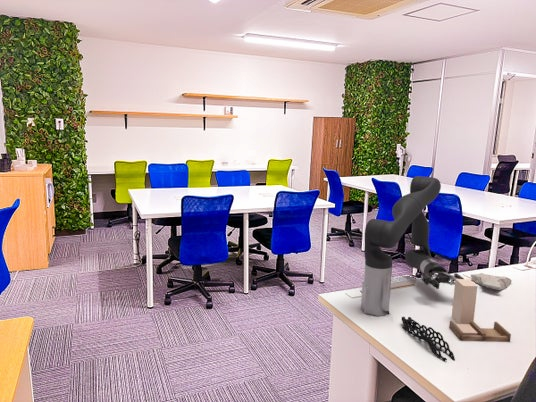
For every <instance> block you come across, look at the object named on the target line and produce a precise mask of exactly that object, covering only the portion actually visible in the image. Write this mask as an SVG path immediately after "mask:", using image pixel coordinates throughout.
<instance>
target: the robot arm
mask: <svg viewBox="0 0 536 402" xmlns="http://www.w3.org/2000/svg"><path fill="white" fill-rule="evenodd" d="M441 185H442V184H441V181H440V180H439V179H438V178H436V177H431V176H422V175H416V176H413V178H412V180H411V182H410V185H409V193H407V194H405V195H403V196H401V197H400V198H399V199H398V200H397V201H396V202H395V203H394V205H393V206H392V211H391V213H392V217H393V219H394V220H392V221H389V220H383V219H378V218H371V219H369V220H368V221H367V223H366V225H365V227H364V228H365V230H364V276H363V277H364V279H363V281H362V282H361V283H362V284H361V285H362V286H361V300H360V301H361V305H360V307H361V309H362V310H363V313H364V314H365V315H367V314H368V315H370V316H377V317H378V316H379V317H382V316H386V315H388V314H389V312H390V311H389V310H390V301H391V289H392V288H391V286H392V285H391V284H392V276H393V275H392V273H393V272H392V271H393V258H392V257H391V256H390V255H389V254H388V253H386V252H385V251H383V249H381V248H385V249H392V248H394V247H396V245H397V244H398V243H399V241H400V240H401V238H402V237H403V235H404V233H405V231H407V229H408V228H409V227H410V225H411V237H410V241H411V244H412V245H413V246H417V247H421V249H409V250H407V251H406V253H405V262H406V263H407V265H408V266H410V267H411V268H414V269H416V270H419V271H420V272H421V275H420V280H421V281H422V282H423V283H424V284H425V285H426V286H427V285H430V286H432V287H433V288H435V289H436V290H439V289H440V284H447V285H450V286H455V279H465V278H464V277H463V276H461V275H460V274H459V273H457V272H456V273H454V274H450V273H448V272H447V269H446V268H445V267H444V266H443V265H441V263H439V262H438V261H437V260H435V259H434V258H432V254H431V250H430V244H429V239H430V225H429V221H428V219H427V218H426V215H425V214H424V211H423V210H424V209H425V208H426V207H427V206H428V205H430V204H431V203H433V201H434V200H436V198H438V196H439V194H440V193H441V187H442V186H441Z"/></svg>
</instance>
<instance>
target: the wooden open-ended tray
mask: <svg viewBox="0 0 536 402" xmlns="http://www.w3.org/2000/svg"><path fill="white" fill-rule="evenodd" d="M455 324H456V322H455V321H454V320H449V325H448V329H450V331H451V332H452V333H453V334H454V335H455V336H456V337H457V339H458V340H459V341H461V342H462V341H464V342H502V343H503V342H505V343H507V342H508V343H509V342H511V338H512V337H511V336H512V334H511V333H510V332H509V331H508V330H507V329H506V328H505V327H503V326H502V325H501V324H500V323H499V322H498V321H494V323H493V328H492V327H491V328H490V327H487V328H485V327H484V328H482V327H480V326H479V325H478V324H477V323H476V322H475V321H470V326H471V327H472V328H473V329H474V330H475V331H476V332H477V333H478V335H463V332H462V331H461V330H460V329H459V328H458V327H457V326H456V325H455Z"/></svg>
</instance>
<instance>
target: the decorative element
mask: <svg viewBox="0 0 536 402" xmlns="http://www.w3.org/2000/svg"><path fill="white" fill-rule="evenodd" d="M401 322H402V325H403V326H402V329H403V330H404V331H406V332H407V333H408V334H409V335H412V336H413V337H415V338H417V339H419V340H422V341H425V343H427V344H428V346H429V348H430V350H431V351H432V353H433V354H434V355H436V356H437V357H438V358H439V359H441V360H442V361H443V362H446V361H447V360H448V358H446V357H444V356H443V355H442V353H443V354H445V355H446V356H448V357H449V358H450V359H451V360H452V361H456V358H455V355H454V352H453V351H451V349H450V345H449V343H448V342H447V341H445V340H444V336H443V335H442V334H441V332H439V331H436V330H435V329H433V327H431V326H428V327H427V326H426V325H424V324H422V325H421V324H420V323H419V322H417V321H416V320H414V319H413V318H412V317H410V316H408V317H407V318H406V317H405V316H401ZM428 332H429V333H428ZM435 335H436V336H435ZM436 340H437V341H436ZM441 342H442V343H441ZM437 345H439V348H438V347H437ZM442 348H444V351H443V350H442Z"/></svg>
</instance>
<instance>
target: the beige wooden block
mask: <svg viewBox="0 0 536 402" xmlns="http://www.w3.org/2000/svg"><path fill="white" fill-rule="evenodd" d="M454 282H455V285H454V290H453V301H452V308H451V318H452V320H453V321H454V322H455V324H469V325H470V321H474V319H475V312H476V311H475V310H476V302H477V293H478V284H475V282H473V281H472V280H470V279H469V278H464V279H455V281H454ZM474 322H475V321H474Z"/></svg>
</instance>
